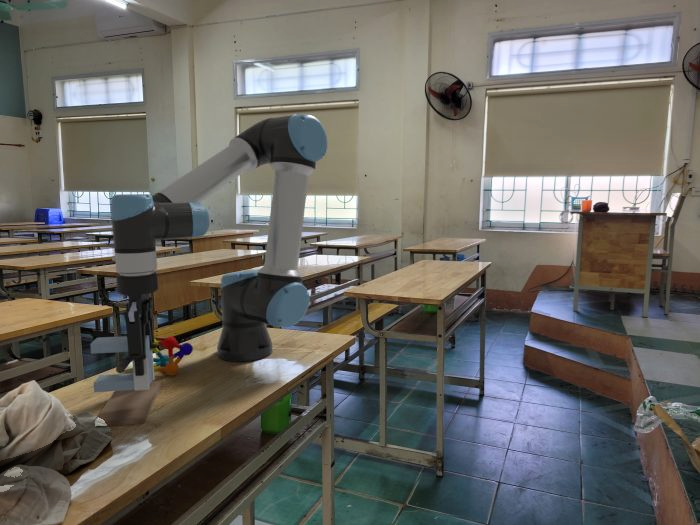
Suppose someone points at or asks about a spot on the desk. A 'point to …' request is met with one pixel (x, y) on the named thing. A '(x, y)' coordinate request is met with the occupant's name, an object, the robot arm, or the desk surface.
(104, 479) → the desk surface
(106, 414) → the stand
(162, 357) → the molecular model
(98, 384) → the c link
